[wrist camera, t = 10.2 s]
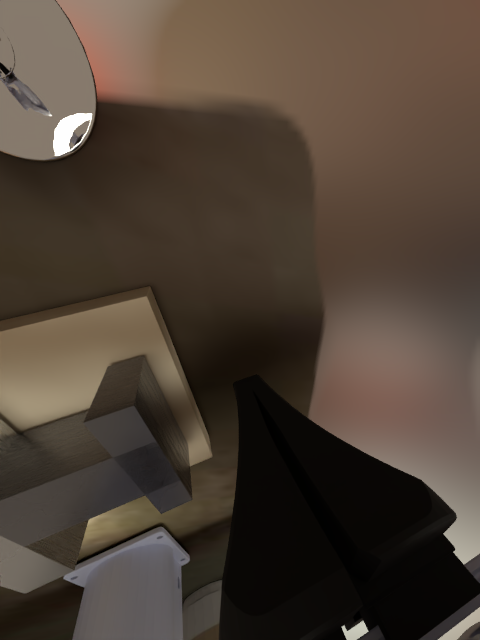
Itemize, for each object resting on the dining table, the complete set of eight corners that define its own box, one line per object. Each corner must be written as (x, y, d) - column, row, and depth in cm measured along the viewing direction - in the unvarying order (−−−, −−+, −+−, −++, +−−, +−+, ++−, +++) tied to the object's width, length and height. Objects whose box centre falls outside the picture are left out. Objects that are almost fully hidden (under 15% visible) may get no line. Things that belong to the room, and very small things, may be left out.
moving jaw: (194, 457, 13) (200, 512, 10) (56, 514, 11) (25, 593, 9) (130, 326, 8) (112, 371, 6) (-126, 394, 7) (-297, 494, 4)
